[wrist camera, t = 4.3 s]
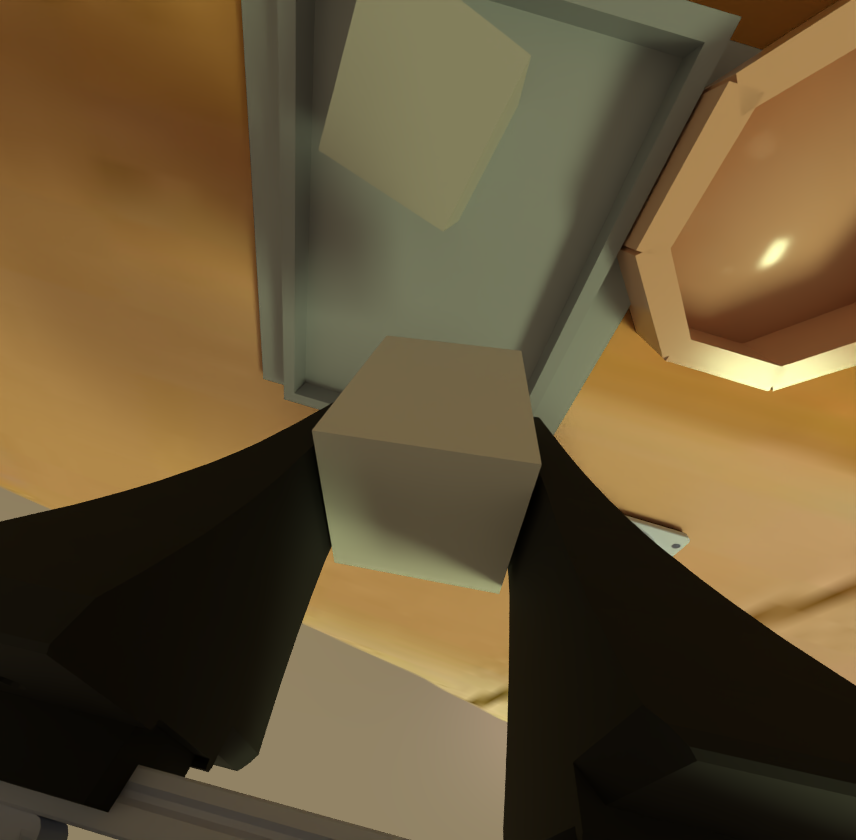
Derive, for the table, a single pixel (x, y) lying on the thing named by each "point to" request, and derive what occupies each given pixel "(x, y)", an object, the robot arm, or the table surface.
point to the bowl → (758, 218)
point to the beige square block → (423, 101)
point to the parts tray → (490, 202)
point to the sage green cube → (430, 462)
